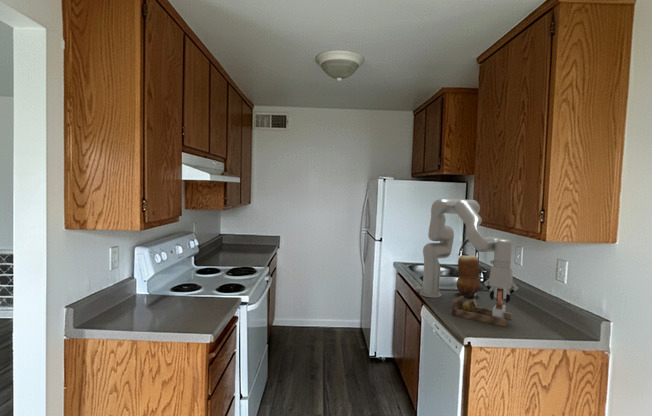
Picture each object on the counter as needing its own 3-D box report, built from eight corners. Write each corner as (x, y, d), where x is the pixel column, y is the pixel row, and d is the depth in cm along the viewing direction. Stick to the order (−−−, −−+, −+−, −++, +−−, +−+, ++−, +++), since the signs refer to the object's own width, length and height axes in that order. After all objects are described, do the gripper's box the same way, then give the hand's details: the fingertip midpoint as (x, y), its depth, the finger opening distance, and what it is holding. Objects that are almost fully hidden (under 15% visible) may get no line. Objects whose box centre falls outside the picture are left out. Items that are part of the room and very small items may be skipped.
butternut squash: (456, 292, 238) (458, 252, 236) (479, 295, 232) (482, 254, 231) (455, 297, 225) (457, 255, 224) (479, 300, 220) (481, 258, 218)
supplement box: (505, 296, 232) (506, 276, 231) (507, 299, 225) (509, 278, 224) (492, 295, 234) (493, 274, 233) (494, 298, 227) (495, 277, 226)
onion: (475, 312, 196) (476, 297, 196) (478, 317, 189) (479, 302, 188) (460, 311, 198) (460, 296, 198) (462, 316, 190) (463, 300, 190)
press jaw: (491, 320, 182) (493, 289, 181) (496, 315, 191) (498, 285, 190) (500, 322, 180) (502, 291, 179) (504, 317, 188) (506, 287, 188)
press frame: (452, 314, 191) (452, 301, 191) (459, 308, 203) (460, 295, 202) (505, 326, 177) (506, 312, 177) (510, 319, 188) (511, 305, 188)
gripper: (481, 262, 186) (479, 298, 187) (520, 268, 176) (518, 306, 177) (484, 260, 192) (482, 295, 193) (522, 266, 182) (520, 302, 183)
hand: (499, 300), depth 185 cm, fingers open, 6 cm apart
